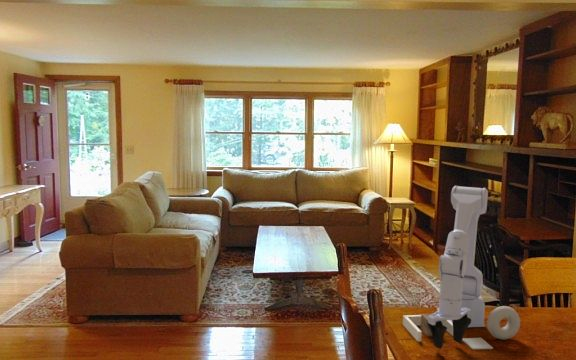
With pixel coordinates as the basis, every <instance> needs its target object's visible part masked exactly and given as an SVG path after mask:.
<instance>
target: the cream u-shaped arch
mask: <svg viewBox="0 0 576 360" xmlns="http://www.w3.org/2000/svg"><path fill="white" fill-rule="evenodd" d="M442 324H443V326H445V327H447V330H446V332H448V334H450V335H451V336H452V337H453V323H452V322H451V321H450V320H447V321H443V322H442ZM402 325H403V327H404V328H405V329H406V330H407V331H408V333H410V334H411V336H412V337H413V338H414V339H415V341H417V342H418V343H419V342H422V333H423V332H422V331H421V328H419V327H418V326H421V314H413V315H412V314H407V315H402Z"/></svg>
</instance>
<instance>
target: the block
mask: <svg viewBox="0 0 576 360" xmlns="http://www.w3.org/2000/svg"><path fill="white" fill-rule="evenodd" d="M432 314H433V313H421V314H420V315H421V325H420V330H421V331H422V333H423V334H424V335H425V336H426V337H432V333H431V331H430V328H429V326H428V324H427V320H428V316H430V315H432Z"/></svg>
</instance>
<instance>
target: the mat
mask: <svg viewBox="0 0 576 360" xmlns="http://www.w3.org/2000/svg"><path fill="white" fill-rule="evenodd" d="M461 342H464V344H466V345H467V346H468V347H469V348H470V349H472V350H493V349H494V347H493V346H492V345H490V344H489V343H488V342H487V341H486V340H484V339H483V338H482V337H469V338H467V337H465V338H464V337H463V339H462V341H461Z"/></svg>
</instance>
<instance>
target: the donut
mask: <svg viewBox="0 0 576 360" xmlns="http://www.w3.org/2000/svg"><path fill="white" fill-rule="evenodd" d="M505 318H506V320H507V323H506V325H504V326H503V327H501V326H500V325H501V324H500V323H501V321H502V320H504V319H505ZM486 326H487V330H488V332H489V334H491V335H492V337H494V338H495V339H498V340H502V341H503V340H509V339H511V338H513V337H514V336H516V334H517V333H518V332H519V330H520V328H521V327H520V326H521V319H520V316H519V313H518V312H517V311H516V310H515V309H514V308H512V307H510V306H507V305H502V306H498V307H496V308H493V309H492V310H491V311H490V313H489V314H488V317H487V320H486Z"/></svg>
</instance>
